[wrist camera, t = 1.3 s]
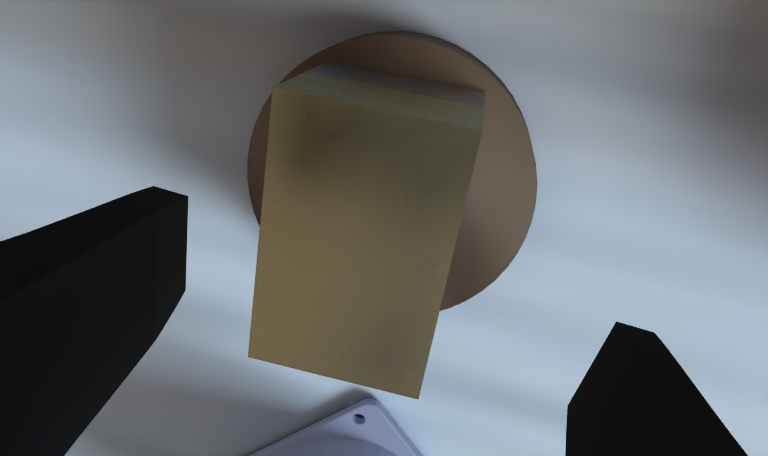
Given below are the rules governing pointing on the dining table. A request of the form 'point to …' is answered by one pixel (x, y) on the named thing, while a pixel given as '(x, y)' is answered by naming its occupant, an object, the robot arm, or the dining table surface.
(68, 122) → the dining table surface
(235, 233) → the dining table surface
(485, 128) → the stand
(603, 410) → the robot arm
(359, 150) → the block
